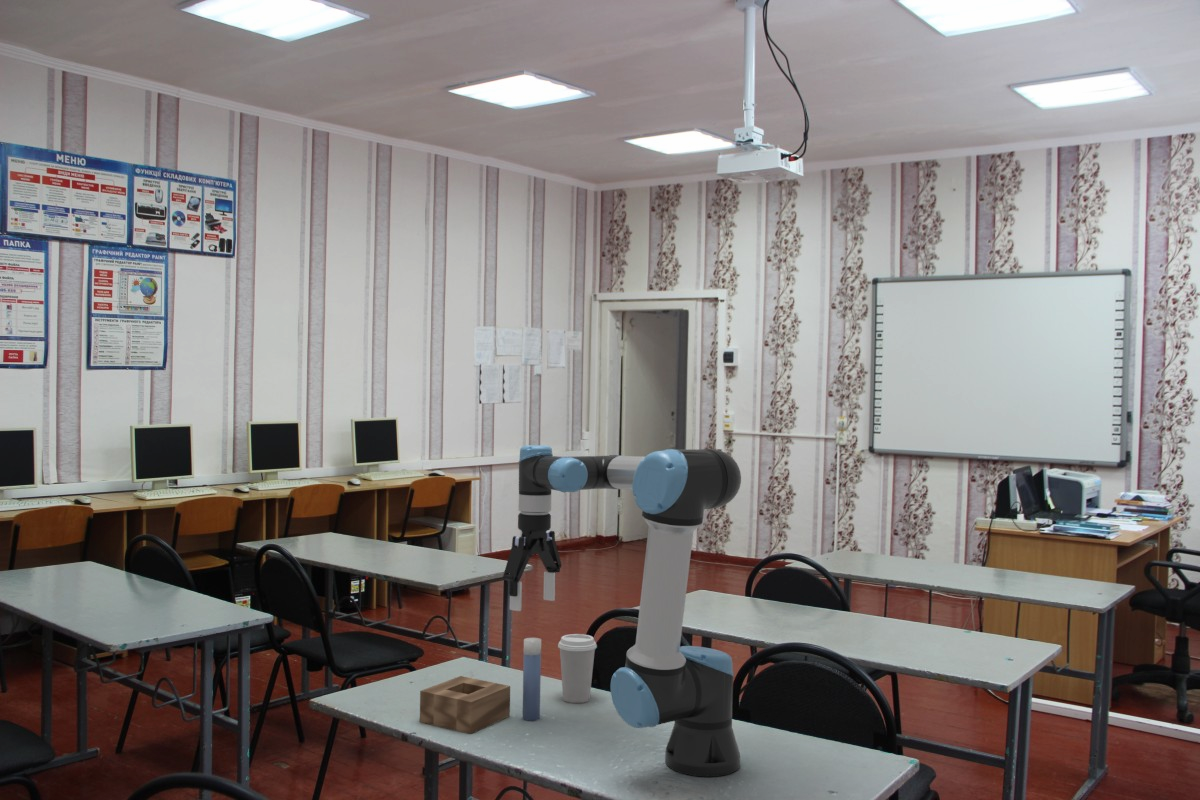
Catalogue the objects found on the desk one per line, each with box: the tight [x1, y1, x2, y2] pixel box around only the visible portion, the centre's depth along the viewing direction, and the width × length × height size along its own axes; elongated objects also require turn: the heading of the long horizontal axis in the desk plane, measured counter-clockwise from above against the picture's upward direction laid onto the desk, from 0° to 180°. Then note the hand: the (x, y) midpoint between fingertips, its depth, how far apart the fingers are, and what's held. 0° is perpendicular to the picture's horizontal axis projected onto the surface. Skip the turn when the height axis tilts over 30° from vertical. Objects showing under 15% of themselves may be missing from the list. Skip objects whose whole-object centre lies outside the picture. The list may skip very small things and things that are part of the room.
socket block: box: [419, 675, 511, 735], centre depth 228 cm, size 14×14×7 cm
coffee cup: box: [557, 633, 598, 704], centre depth 244 cm, size 10×10×15 cm
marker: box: [521, 637, 542, 722], centre depth 229 cm, size 4×4×18 cm
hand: (532, 605), depth 229 cm, fingers open, 13 cm apart
